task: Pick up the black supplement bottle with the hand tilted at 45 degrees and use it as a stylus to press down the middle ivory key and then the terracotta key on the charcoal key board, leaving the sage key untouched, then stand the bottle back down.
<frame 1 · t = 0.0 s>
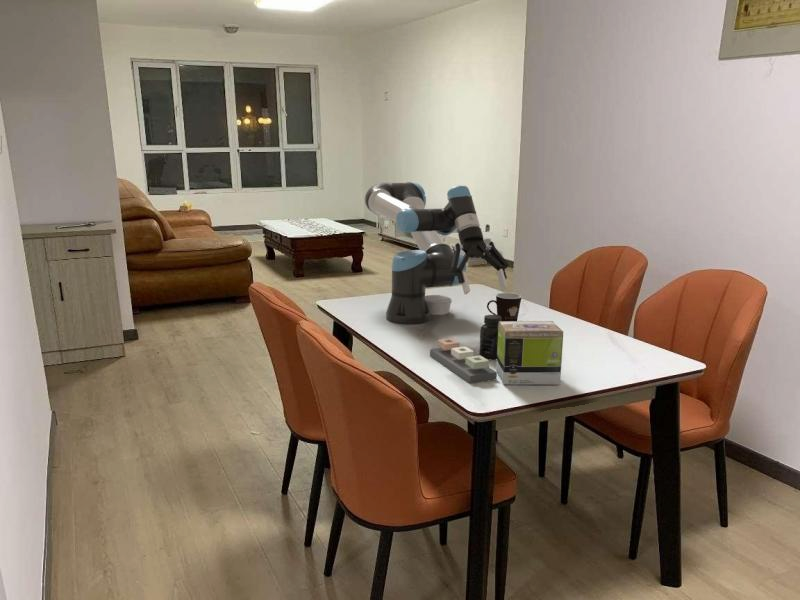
hand: (486, 291, 198), 15 cm above the table, tool tilted 35°, fingers open, 13 cm apart
key 1: (448, 344, 181), point 4 cm above the table, slide at 0.0 cm
tea box: (526, 379, 168), on the table
supplement bottle: (490, 357, 184), on the table
key board: (461, 367, 175), on the table
coffee mug: (502, 324, 218), on the table
ramekin: (435, 313, 230), on the table
key mid: (462, 352, 174), point 4 cm above the table, slide at 0.0 cm
key 2: (477, 362, 167), point 4 cm above the table, slide at 0.0 cm
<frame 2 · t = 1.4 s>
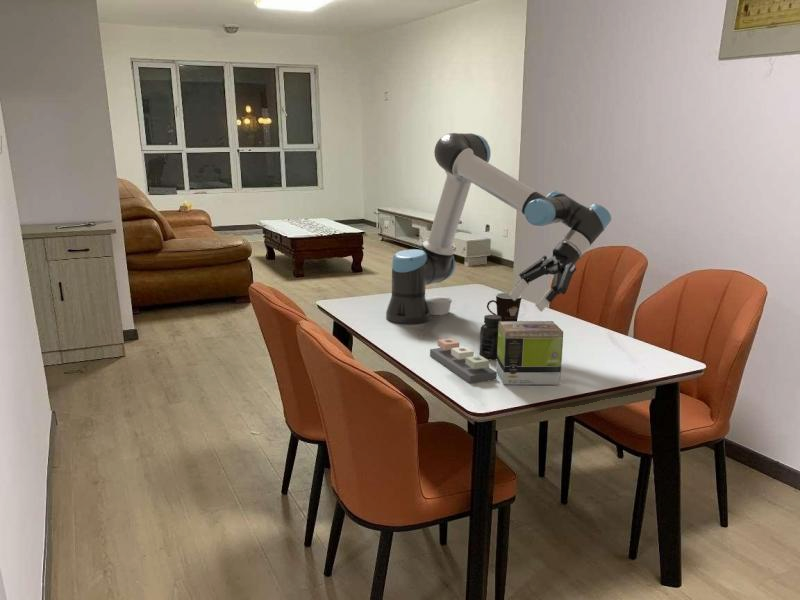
hand: (524, 303, 185), 15 cm above the table, tool tilted 45°, fingers open, 13 cm apart
nothing on the table moved.
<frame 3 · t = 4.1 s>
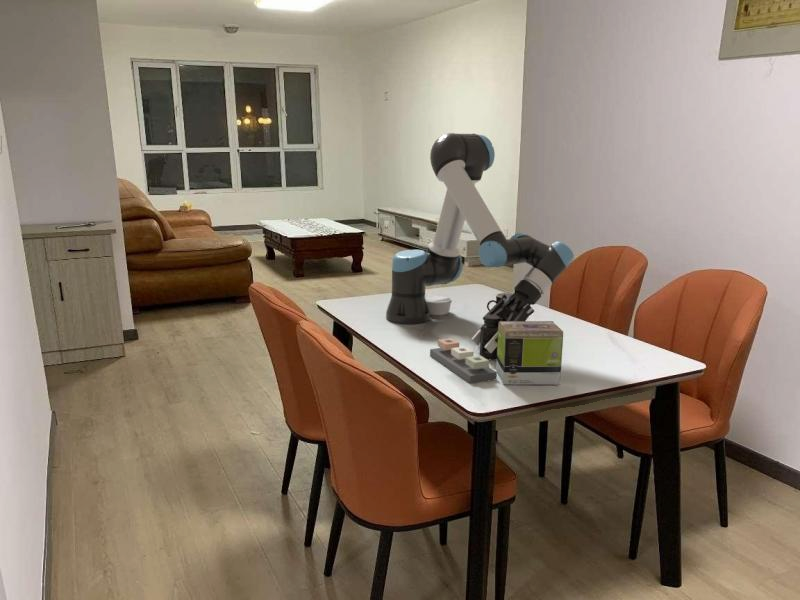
hand: (480, 346, 182), 3 cm above the table, tool tilted 45°, fingers closed on supplement bottle, 7 cm apart
supplement bottle: (490, 356, 184), on the table, touching gripper
everything else where it was.
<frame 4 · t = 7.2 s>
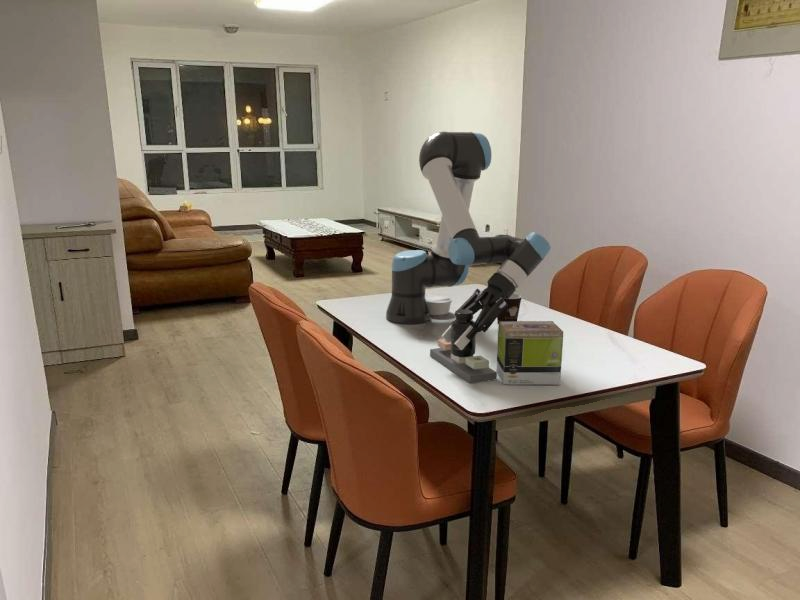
hand: (451, 342, 172), 7 cm above the table, tool tilted 45°, fingers closed on supplement bottle, 7 cm apart
supplement bottle: (462, 354, 174), point 4 cm above the table, touching gripper, key mid
key mid: (462, 356, 174), point 3 cm above the table, slide at -1.2 cm, touching supplement bottle
everything else where it was.
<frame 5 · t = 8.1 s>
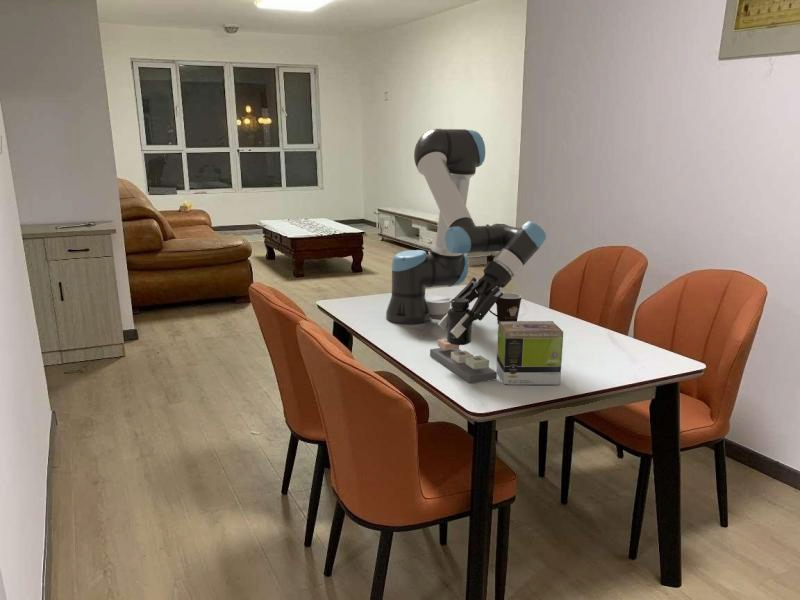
hand: (447, 330, 173), 10 cm above the table, tool tilted 45°, fingers closed on supplement bottle, 7 cm apart
supplement bottle: (458, 342, 176), point 6 cm above the table, touching gripper
key mid: (462, 356, 174), point 3 cm above the table, slide at -1.1 cm
everything else where it was.
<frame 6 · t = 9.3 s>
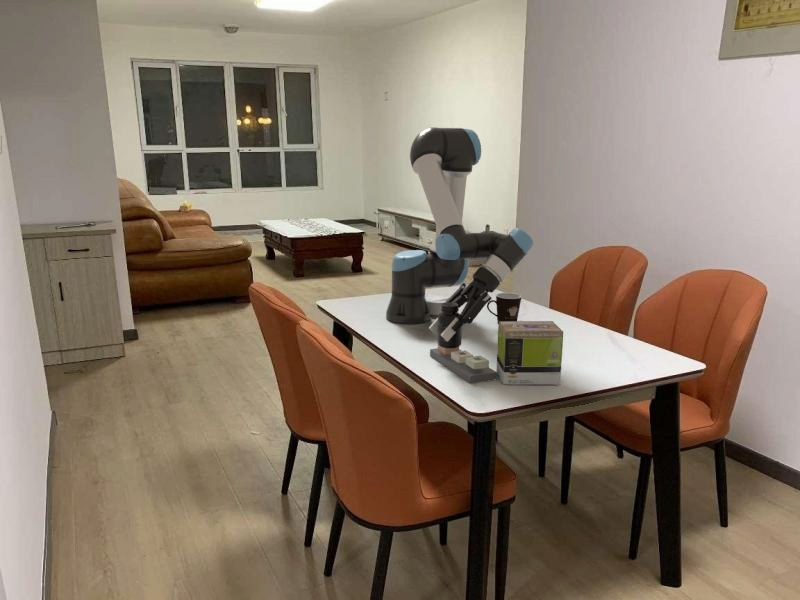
hand: (438, 334, 179), 7 cm above the table, tool tilted 45°, fingers closed on supplement bottle, 7 cm apart
key 1: (448, 348, 181), point 3 cm above the table, slide at -1.2 cm, touching supplement bottle
supplement bottle: (449, 345, 181), point 4 cm above the table, touching gripper, key 1
everything else where it was.
when the fingers open (5 cm above the table, at t = 12.4 s): supplement bottle drops 1 cm, on the table.
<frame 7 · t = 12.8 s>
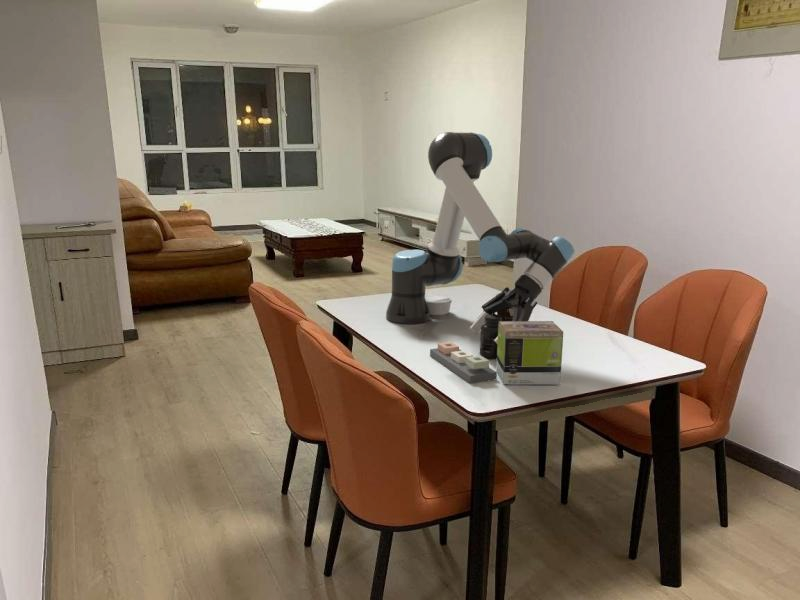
hand: (484, 337, 182), 6 cm above the table, tool tilted 45°, fingers open, 13 cm apart
key 1: (448, 347, 181), point 3 cm above the table, slide at -1.1 cm
supplement bottle: (490, 356, 185), on the table
everything else where it was.
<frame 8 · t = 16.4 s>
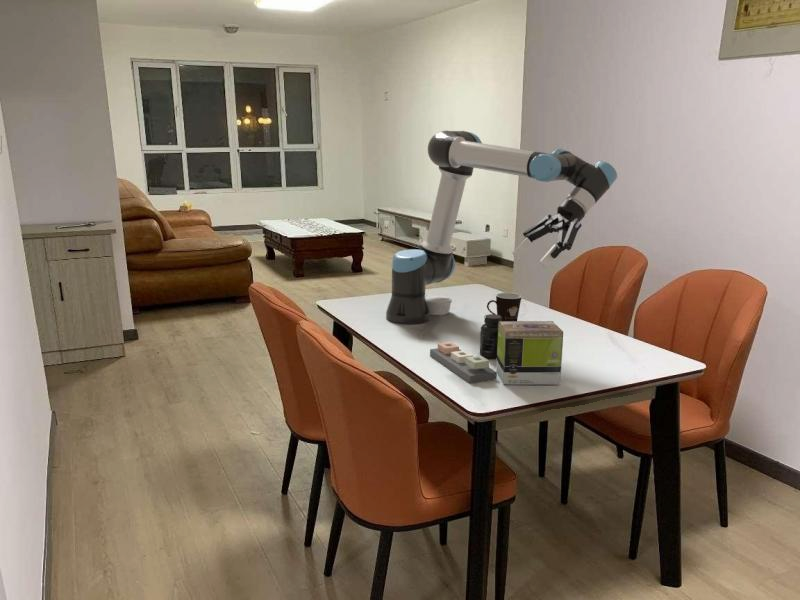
hand: (528, 260, 182), 28 cm above the table, tool tilted 45°, fingers open, 13 cm apart
nothing on the table moved.
at the end: key mid slide at -1.1 cm; key 1 slide at -1.1 cm; key 2 slide at 0.0 cm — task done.
